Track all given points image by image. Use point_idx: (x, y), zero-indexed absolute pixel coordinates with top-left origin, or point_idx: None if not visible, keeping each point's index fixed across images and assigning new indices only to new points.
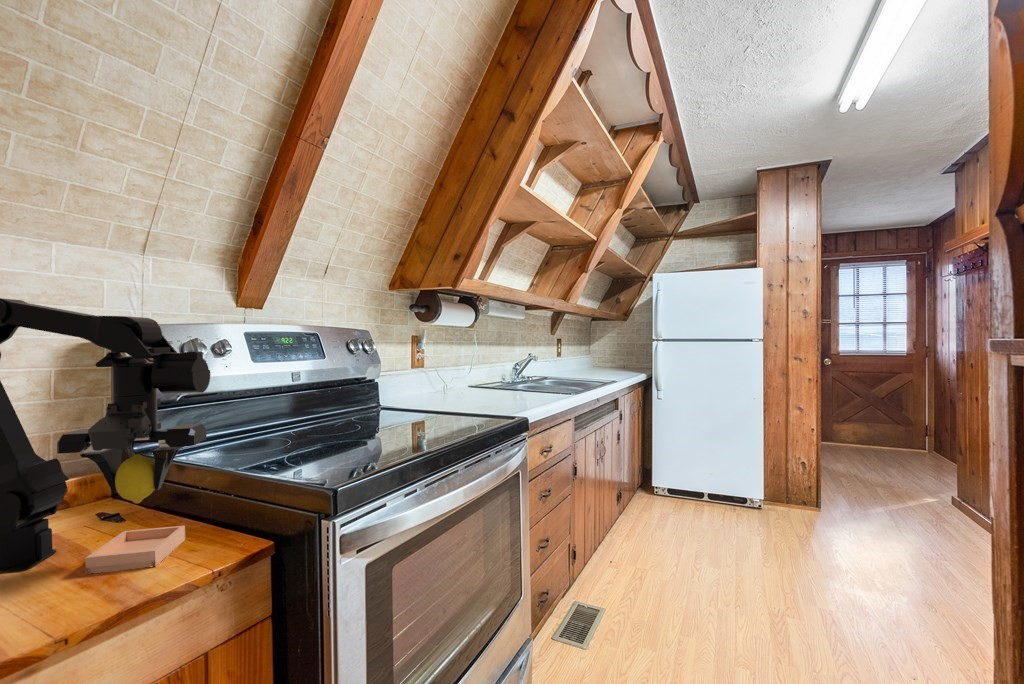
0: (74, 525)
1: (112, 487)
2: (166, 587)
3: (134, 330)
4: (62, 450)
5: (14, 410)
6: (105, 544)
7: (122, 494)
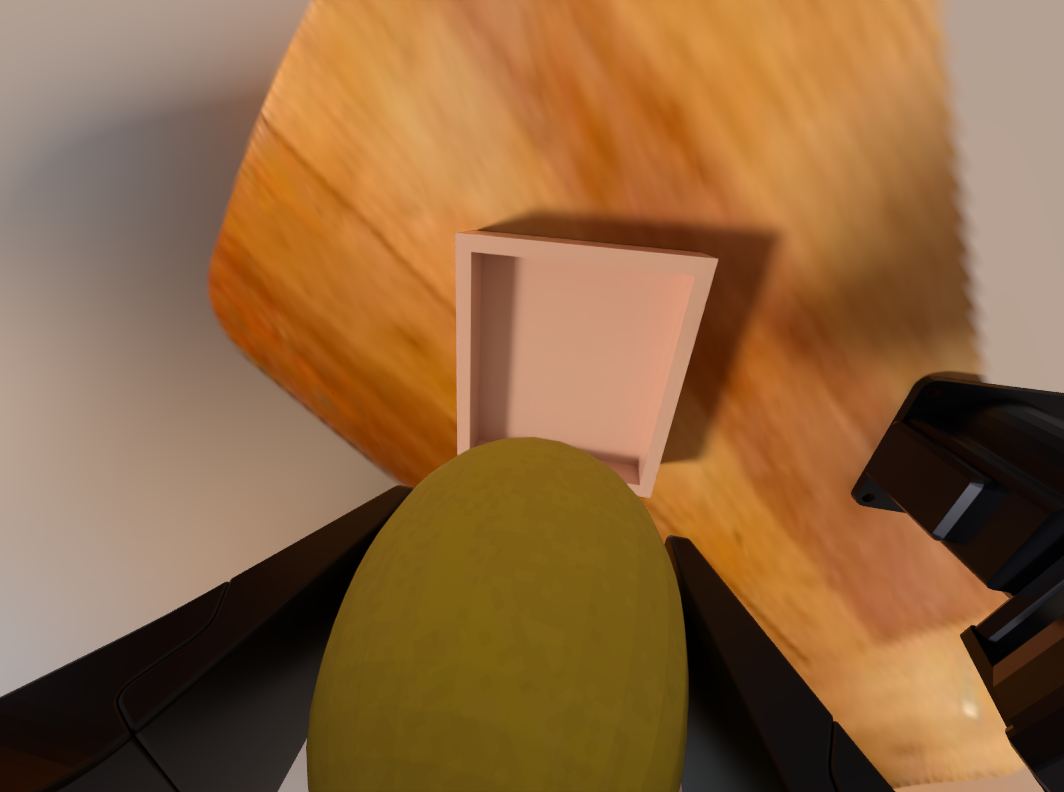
0: (837, 675)
1: (698, 570)
2: None
3: None
4: None
5: None
6: (678, 386)
7: (597, 461)
